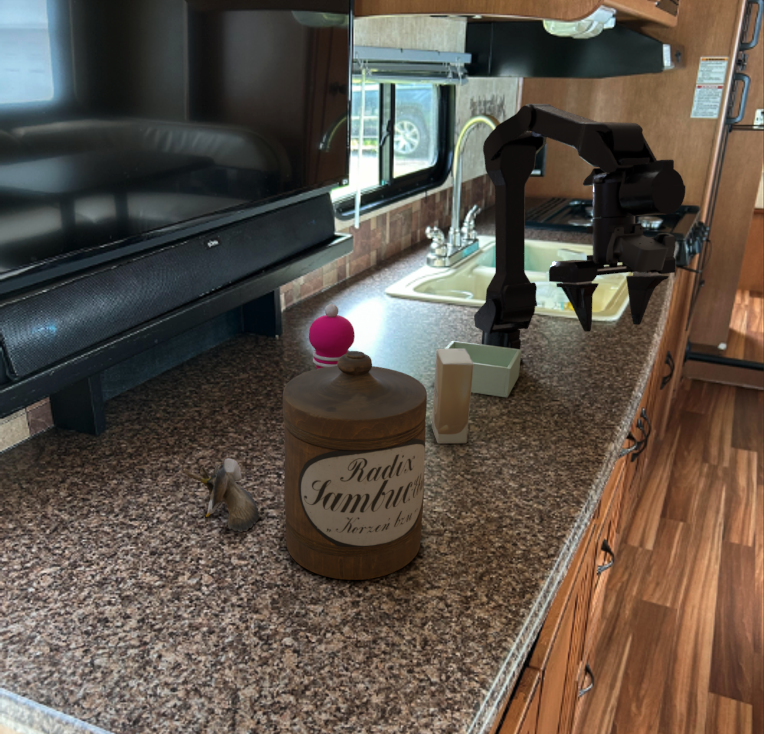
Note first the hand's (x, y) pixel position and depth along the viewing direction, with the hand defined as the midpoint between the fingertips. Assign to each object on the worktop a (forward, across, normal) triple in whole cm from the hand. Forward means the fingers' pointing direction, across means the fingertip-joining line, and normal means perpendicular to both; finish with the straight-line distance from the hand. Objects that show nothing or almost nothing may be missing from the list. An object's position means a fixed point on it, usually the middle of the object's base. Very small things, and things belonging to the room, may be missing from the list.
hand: (612, 327), depth 112 cm
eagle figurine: (+15, -59, -2) cm, 61 cm away
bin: (+10, -9, +22) cm, 26 cm away
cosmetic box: (+14, -24, +6) cm, 29 cm away
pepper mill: (+13, -41, +10) cm, 44 cm away
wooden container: (+18, -48, -13) cm, 53 cm away
